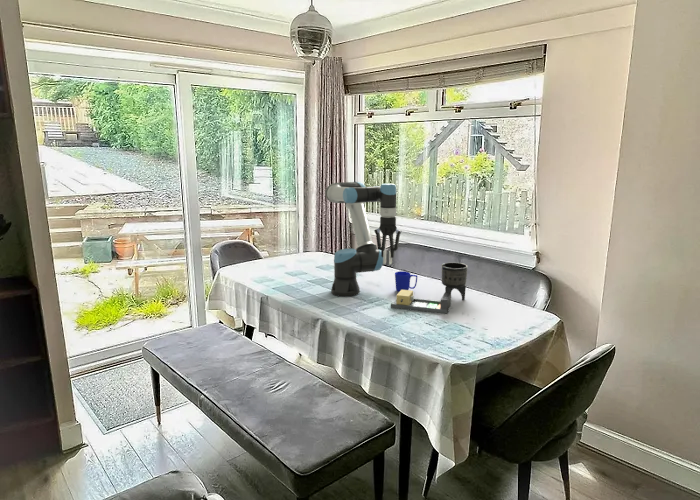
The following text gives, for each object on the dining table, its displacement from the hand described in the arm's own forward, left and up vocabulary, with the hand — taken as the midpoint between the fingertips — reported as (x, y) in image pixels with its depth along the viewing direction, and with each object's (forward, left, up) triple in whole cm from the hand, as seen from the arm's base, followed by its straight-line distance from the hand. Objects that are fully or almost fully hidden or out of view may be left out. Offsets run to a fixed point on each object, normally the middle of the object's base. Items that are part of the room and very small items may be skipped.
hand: (387, 263), depth 232 cm
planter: (+30, +18, -21) cm, 41 cm away
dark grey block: (+29, 0, -20) cm, 36 cm away
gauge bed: (+17, 0, -20) cm, 27 cm away
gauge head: (+10, -1, -19) cm, 21 cm away
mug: (+4, +23, -21) cm, 31 cm away
